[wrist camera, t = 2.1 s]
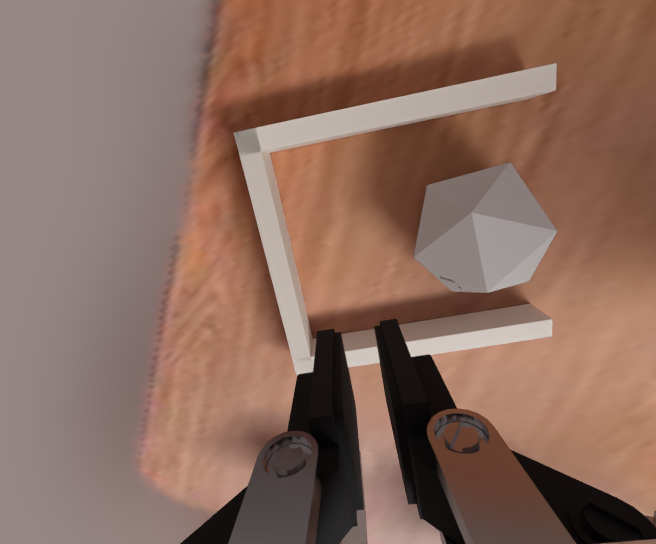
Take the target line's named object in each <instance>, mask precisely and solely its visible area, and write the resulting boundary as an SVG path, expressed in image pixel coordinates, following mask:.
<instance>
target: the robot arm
mask: <svg viewBox="0 0 656 544" xmlns="http://www.w3.org/2000/svg"><path fill="white" fill-rule="evenodd" d="M374 330H375V336H376V342H377V348H378V354H379V360H380V366H381V372H382V378H383V384H384V390H385V396H386V402H387V407H388V411H389V416H390V421H391V425H392V430H393V435H394V439H395V444H396V449H397V453H398V458H399V463H400V468H401V472H402V477H403V482H404V486H405V491H406V496H407V500H408V504H417V507H418V512H419V516H420V519H424V520H425V521H427V522H428V523H429V524H431V525H432V526H434V527H435V528H436V529H438V530H439V532H440V537H441V541H442V544H656V511H655V512H654V517H650V516H644V515H643V514H642V513H640V512H639V511H638V510H637V509H635V508H634V507H633V506H631V505H629V504H627V503H625V502H624V501H622V500H620V499H618V498H616V497H614V496H612V495H609V494H607V493H605V492H603V491H601V490H598V489H596V488H594V487H592V486H590V485H587V484H585V483H583V482H581V481H578V480H576V479H574V478H572V477H570V476H567V475H565V474H563V473H561V472H559V471H556V470H554V469H552V468H550V467H547V466H545V465H543V464H541V463H539V462H536V461H534V460H532V459H530V458H528V457H525V456H523V455H521V454H519V453H516V452H514V451H512V450H510V449H509V447H508V446H507V444H506V443H505V442H504V440H503V439H502V437H501V436H500V434H499V433H498V432H497V430H496V429H495V427H494V426H493V425H492V424H491V423H490V422H489V421H488V420H487V419H486V418H485V417H483V416H481V415H480V414H478V413H475V412H473V411H470V410H465V409H457V407H456V405H455V403H454V401H453V399H452V397H451V395H450V393H449V391H448V389H447V387H446V385H445V383H444V381H443V379H442V377H441V375H440V373H439V371H438V369H437V367H436V365H435V363H434V361H433V359H432V357H431V355H429V354H427V355H421V356H414V357H411V355H410V352H409V350H408V347H407V345H406V342H405V340H404V337H403V335H402V332H401V329H400V327H399V324H398V322H397V319H391V320H385V321H380V326H375V327H374ZM357 510H364V500H363V488H362V476H361V464H360V452H359V440H358V428H357V416H356V406H355V400H354V395H353V390H352V385H351V380H350V375H349V370H348V365H347V360H346V355H345V350H344V345H343V340H342V335H341V332H338V333H335V331H334V329H329V330H323V331H317V339H316V348H315V357H314V366H313V372H309V373H303V374H299V375H298V376H297V381H296V386H295V392H294V397H293V403H292V409H291V414H290V420H289V425H288V431H287V432H285V433H282V434H280V435H278V436H276V437H274V438H273V439H272V440H270V441H269V442H268V443H267V444H266V445H265V446H264V447H263V448H262V450H261V452H260V454H259V455H258V457H257V460H256V463H255V466H254V469H253V472H252V475H251V478H250V481H249V484H248V486H247V487H246V488H245V489H243V490H242V491H241V492H240V493H239V494H238V495H236V496H235V497H234V498H233V499H232V500H231V501H229V502H228V503H227V504H226V505H225V506H224V507H222V508H221V509H220V510H219V511H218V512H217V513H216V514H214V515H213V516H212V517H211V518H210V519H209V520H207V521H206V522H205V523H204V524H203V525H202V526H201V527H199V528H198V529H197V530H196V531H195V532H193V533H192V534H191V535H190V536H189V537H188V538H186V539H185V540H184V541H183V542H182V543H181V544H343V541H342V540H343V538H344V537H345V536H346V535H347V533H348V532H349V531H350V530H351V528H352V527H356V526H358V525H357Z"/></svg>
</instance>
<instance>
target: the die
mask: <svg viewBox="0 0 656 544" xmlns="http://www.w3.org/2000/svg"><path fill="white" fill-rule="evenodd" d="M556 233H557V230H556V228H555V227H554V225H553V224H552V222H551V221H550V220H549V218H548V217H547V215H546V214H545V212H544V211H543V209H542V208H541V206H540V205H539V203H538V202H537V201H536V199H535V198H534V196H533V195H532V193H531V192H530V190H529V189H528V187H527V186H526V184H525V183H524V181H523V180H522V179H521V177H520V176H519V174H518V173H517V171H516V170H515V168H514V167H513V165H512V164H511V162H509V163H505V164H502V165H498V166H495V167H491V168H487V169H484V170H480V171H477V172H473V173H469V174H466V175H462V176H458V177H455V178H451V179H448V180H444V181H440V182H437V183H433V184H429V185H427V188H426V193H425V199H424V204H423V209H422V215H421V220H420V225H419V231H418V236H417V241H416V247H415V252H414V258H415V259H416V260H417V261H418V262H419V263H420V264H421V265H423V266H424V267H425V268H426V269H427V270H428V271H429V272H430V273H432V274H433V275H434V276H435V277H436V278H437V279H438V280H440V281H441V282H442V283H443V284H444V285H445V286H446V287H447V288H449V289H450V290H451V291H454V292H479V293H489V292H492V291H496V290H499V289H503V288H507V287H510V286H514V285H518V284H521V283H525V282H528V281H529V280H530V279H531V277H532V275H533V273H534V272H535V270H536V268H537V266H538V264H539V263H540V261H541V259H542V257H543V256H544V254H545V252H546V250H547V249H548V247H549V245H550V243H551V241H552V240H553V238H554V236H555V234H556Z"/></svg>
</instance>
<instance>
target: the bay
mask: <svg viewBox="0 0 656 544" xmlns="http://www.w3.org/2000/svg"><path fill="white" fill-rule="evenodd" d="M556 64H557V63H555V64H550V65H545V66H541V67H536V68H531V69H527V70H522V71H517V72H513V73H508V74H503V75H499V76H494V77H490V78H485V79H480V80H476V81H471V82H466V83H462V84H457V85H452V86H448V87H443V88H438V89H434V90H429V91H424V92H420V93H415V94H410V95H406V96H401V97H396V98H392V99H387V100H382V101H378V102H373V103H368V104H364V105H359V106H355V107H350V108H345V109H341V110H336V111H331V112H327V113H322V114H317V115H313V116H308V117H303V118H299V119H294V120H289V121H285V122H280V123H275V124H271V125H266V126H261V127H257V128H252V129H247V130H243V131H238V132H234V136H235V140H236V144H237V147H238V151H239V155H240V159H241V163H242V167H243V171H244V175H245V178H246V182H247V186H248V190H249V194H250V198H251V202H252V205H253V209H254V213H255V217H256V221H257V225H258V229H259V232H260V236H261V240H262V244H263V248H264V252H265V256H266V260H267V263H268V267H269V271H270V275H271V279H272V283H273V287H274V290H275V294H276V298H277V302H278V306H279V310H280V314H281V317H282V321H283V325H284V329H285V333H286V337H287V341H288V345H289V348H290V352H291V356H292V360H293V364H294V368H295V372H296V375H299V374H303V373H309V372H313V366H314V357H315V348H316V339H317V338H313V337H312V333H311V329H310V324H309V320H308V316H307V311H306V307H305V303H304V298H303V294H302V290H301V285H300V281H299V277H298V273H297V268H296V264H295V260H294V255H293V251H292V247H291V242H290V238H289V234H288V229H287V225H286V221H285V216H284V212H283V208H282V204H281V199H280V195H279V191H278V186H277V182H276V178H275V173H274V169H273V165H272V160H271V156H270V153H272V152H277V151H282V150H286V149H291V148H296V147H301V146H306V145H310V144H315V143H320V142H325V141H330V140H335V139H339V138H344V137H349V136H354V135H359V134H363V133H368V132H373V131H378V130H383V129H387V128H392V127H397V126H402V125H407V124H411V123H416V122H421V121H426V120H431V119H436V118H440V117H445V116H450V115H455V114H460V113H464V112H469V111H474V110H479V109H484V108H488V107H493V106H498V105H503V104H508V103H513V102H517V101H522V100H527V99H531V98H534V97H537V96H540V95H543V94H546V93H549V92H552V91H555V90H556ZM399 327H400V329H401V332H402V335H403V337H404V340H405V342H406V345H407V347H408V350H409V352H410V355H411V357H414V356H421V355H427V354H429V355H433V354H439V353H446V352H453V351H459V350H466V349H472V348H479V347H485V346H492V345H498V344H505V343H512V342H518V341H525V340H531V339H538V338H544V337H551V336H552V319H551V318H550V317H548V316H547V315H546V314H544V313H543V312H542V311H540V310H539V309H537V308H536V307H535V306H533V305H532V304H525V305H518V306H512V307H506V308H500V309H493V310H487V311H481V312H475V313H469V314H462V315H456V316H450V317H444V318H437V319H431V320H425V321H419V322H413V323H406V324H400V325H399ZM341 335H342V340H343V345H344V350H345V355H346V360H347V365H348V367H354V366H361V365H367V364H374V363H380V360H379V354H378V348H377V342H376V336H375V330H374V329H369V330H363V331H357V332H350V333H344V334H341Z"/></svg>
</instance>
